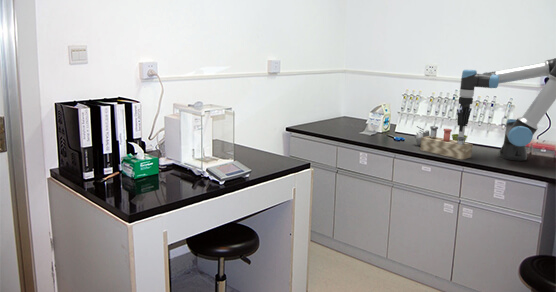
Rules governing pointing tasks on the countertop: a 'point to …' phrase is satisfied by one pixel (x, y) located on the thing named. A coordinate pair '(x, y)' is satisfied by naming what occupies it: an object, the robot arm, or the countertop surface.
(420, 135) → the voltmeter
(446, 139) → the red plug
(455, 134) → the plant pot
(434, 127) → the plug far
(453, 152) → the block
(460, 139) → the plug near
